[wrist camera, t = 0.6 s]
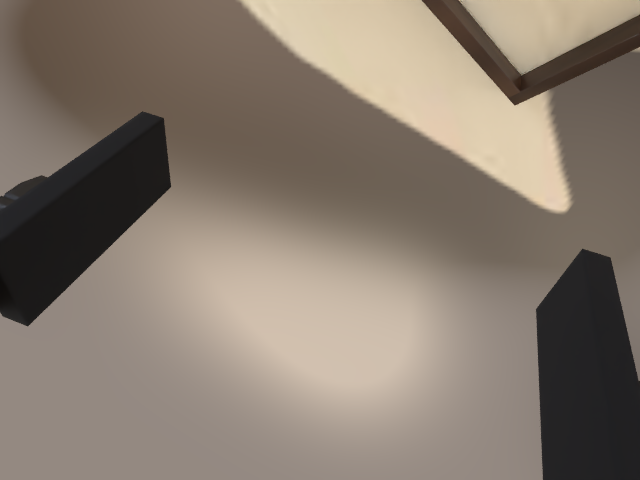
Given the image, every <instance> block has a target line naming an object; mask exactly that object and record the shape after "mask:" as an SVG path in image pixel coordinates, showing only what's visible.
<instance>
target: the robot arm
mask: <svg viewBox="0 0 640 480" xmlns="http://www.w3.org/2000/svg"><path fill="white" fill-rule="evenodd" d="M170 187H171V183H170V173H169V164H168V154H167V145H166V136H165V126H164V118H161V117H158V116H155V115H152V114H149V113H146V112H141V113H140V114H138V115H137V116H135V117H134V118H132V119H131V120H130V121H128V122H127V123H125V124H124V125H123V126H121V127H120V128H118V129H117V130H115V131H114V132H112V133H111V134H110V135H108V136H107V137H105V138H104V139H102V140H101V141H100V142H98V143H97V144H95V145H94V146H92V147H91V148H90V149H88V150H87V151H85V152H84V153H82V154H81V155H80V156H78V157H77V158H75V159H74V160H72V161H71V162H70V163H68V164H67V165H65V166H64V167H62V168H61V169H59V170H58V171H57V172H55V173H54V174H52V175H51V176H49V177H45V176H39V177H36V178H33V179H30V180H28V181H25V182H22V183H20V184H18V185H17V186H15V187H14V188H13V189H11V190H10V191H8V192H7V193H5V195H4V196H1V197H0V312H1V314H2V316H4V317H6V318H8V319H11V320H13V321H16V322H19V323H21V324H23V325H26V326H29V325H30V324H31V323H32V322H33V321H34V320H35V319H36V318H37V317H38V316H39V315H40V314H41V313H42V312H43V311H44V310H45V309H46V308H47V307H48V306H49V305H50V304H51V303H52V302H53V301H54V300H55V299H56V298H57V297H59V296H60V295H61V293H63V292H64V291H65V290H66V289H67V288H68V287H69V285H71V284H72V283H73V282H74V281H75V280H76V279H77V278H78V277H79V276H80V275H81V274H82V273H83V272H84V271H85V270H86V269H87V268H88V267H89V266H90V265H91V264H92V263H93V262H94V261H95V260H96V259H97V258H99V257H100V256H101V255H102V254H103V253H104V252H105V251H106V250H107V249H108V248H109V247H110V246H111V245H112V244H113V243H114V242H115V241H116V240H117V239H118V238H119V237H120V236H121V235H122V234H123V233H124V232H125V231H126V230H127V229H128V228H129V227H130V226H131V225H132V224H133V223H134V222H136V220H137V219H138V218H140V216H142V215H143V214H144V213H145V212H146V211H147V210H148V209H149V208H150V207H151V206H152V205H153V204H154V203H155V202H156V201H157V200H158V199H159V198H160V197H161V196H162V195H163V194H164V193H165V192H166V191H167V190H168V189H169V188H170ZM536 314H537V316H536V317H537V342H538V366H539V390H540V416H541V441H542V464H543V465H542V466H543V480H640V381H638V376H637V372H636V368H635V363H634V359H633V354H632V351H631V346H630V341H629V337H628V332H627V328H626V324H625V319H624V315H623V310H622V306H621V302H620V297H619V293H618V288H617V284H616V280H615V275H614V271H613V266H612V262H611V258H610V257H607V256H604V255H601V254H598V253H594V252H591V251H588V250H584V249H582V250H581V251H580V253H579V254H578V255H577V256H576V258H575V259H574V260H573V262H572V263H571V264H570V266H569V267H568V268H567V269H566V271H565V272H564V274H563V275H562V276H561V277H560V279H559V280H558V281H557V283H556V284H555V285H554V287H553V288H552V289H551V291H550V292H549V293H548V294H547V296H546V297H545V298H544V300H543V301H542V302H541V304H540V305H539V306H538V308H537V309H536Z"/></svg>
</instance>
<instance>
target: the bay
mask: <svg viewBox="0 0 640 480" xmlns="http://www.w3.org/2000/svg"><path fill="white" fill-rule="evenodd" d="M422 1H423V2H424V3H425V5H426V6H427V7H428V8H429V9H430V10H431V11H432V12H433V14H434V15H435V16H436V17H437V18H438V19H439V20H440V22H441V23H442V24H443V25H444V26H445V27H446V28H447V29H448V31H449V32H450V33H451V34H452V35H453V36H454V37H455V38H456V40H457V41H458V42H459V43H460V44H461V45H462V46H463V48H464V49H465V50H466V51H467V52H468V53H469V54H470V55H471V57H472V58H473V59H474V60H475V61H476V62H477V63H478V65H479V66H480V67H481V68H482V69H483V70H484V71H485V72H486V74H487V75H488V76H489V77H490V78H491V79H492V80H493V82H494V83H495V84H496V85H497V86H498V87H499V88H500V89H501V91H502V92H503V93H504V94H505V95H506V96H507V97H508V99H509V100H510V101H511V102H512V103H513V104H514V105H517V104H519V103H521V102H524V101H526V100H528V99H530V98H532V97H534V96H536V95H538V94H541V93H543V92H545V91H547V90H549V89H551V88H553V87H555V86H558V85H560V84H561V83H564V82H566V81H568V80H570V79H572V78H575V77H577V76H579V75H581V74H583V73H585V72H587V71H590V70H592V69H594V68H596V67H598V66H600V65H602V64H604V63H607V62H608V61H611V60H613V59H615V58H617V57H619V56H622V55H624V54H626V53H628V52H630V51H632V50H634V49H636V48H639V47H640V15H639V16H637V17H635V18H633V19H631V20H629V21H628V22H626V23H624V24H622V25H620V26H618V27H616V28H614V29H612V30H610V31H608V32H606V33H604V34H602V35H600V36H598V37H596V38H595V39H593V40H591V41H589V42H587V43H585V44H583V45H581V46H579V47H577V48H575V49H573V50H571V51H569V52H567V53H565V54H563V55H562V56H560V57H558V58H556V59H554V60H552V61H550V62H548V63H546V64H544V65H542V66H540V67H538V68H536V69H534V70H532V71H530V72H529V73H527V74H525V75H523V76H521V75H520V74H519V73H518V72H517V71H516V69H515V68H514V67H513V66H512V65H511V63H510V62H509V61H508V60H507V59H506V57H505V56H504V55H503V54H502V53H501V51H500V50H499V49H498V48H497V47H496V45H495V44H494V43H493V42H492V41H491V39H490V38H489V37H488V36H487V35H486V33H485V32H484V31H483V30H482V28H481V27H480V26H479V25H478V24H477V22H476V21H475V20H474V19H473V18H472V16H471V15H470V14H469V13H468V12H467V10H466V9H465V8H464V7H463V6H462V4H461V3H460V2H459V1H458V0H422Z"/></svg>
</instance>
